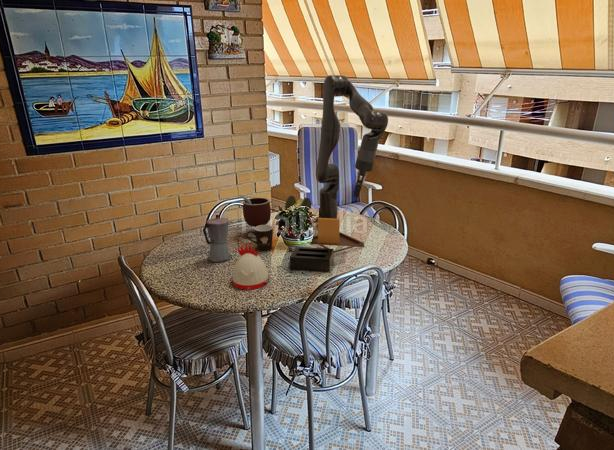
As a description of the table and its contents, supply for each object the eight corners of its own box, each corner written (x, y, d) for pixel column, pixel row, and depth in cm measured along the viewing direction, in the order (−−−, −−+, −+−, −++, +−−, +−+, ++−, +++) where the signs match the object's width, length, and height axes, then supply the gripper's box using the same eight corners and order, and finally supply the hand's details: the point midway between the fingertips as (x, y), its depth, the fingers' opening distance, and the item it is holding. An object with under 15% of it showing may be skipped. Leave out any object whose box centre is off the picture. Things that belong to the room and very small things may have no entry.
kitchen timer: (238, 272, 165) (235, 238, 160) (271, 273, 164) (269, 238, 159) (228, 288, 152) (225, 252, 147) (264, 290, 151) (262, 252, 146)
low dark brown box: (287, 272, 164) (286, 256, 162) (293, 261, 174) (293, 246, 172) (329, 275, 161) (329, 259, 158) (333, 264, 171) (333, 248, 168)
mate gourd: (275, 229, 213) (273, 192, 206) (267, 239, 200) (264, 199, 193) (247, 227, 216) (244, 191, 209) (237, 237, 203) (234, 198, 197)
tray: (307, 241, 196) (307, 237, 195) (335, 233, 204) (335, 230, 204) (334, 255, 179) (334, 251, 178) (364, 246, 187) (364, 242, 187)
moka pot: (238, 254, 183) (234, 211, 177) (217, 267, 170) (213, 222, 163) (220, 251, 187) (216, 209, 180) (199, 264, 174) (194, 219, 167)
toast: (317, 242, 192) (317, 218, 188) (318, 241, 193) (318, 217, 189) (339, 243, 190) (339, 219, 186) (339, 242, 191) (339, 218, 187)
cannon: (291, 227, 215) (290, 206, 211) (272, 224, 220) (271, 204, 217) (313, 214, 236) (312, 195, 232) (295, 211, 241) (294, 192, 237)
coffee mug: (277, 245, 191) (276, 225, 188) (269, 252, 184) (268, 232, 180) (254, 243, 195) (253, 223, 192) (246, 250, 187) (244, 229, 184)
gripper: (358, 152, 180) (350, 186, 188) (355, 161, 168) (346, 196, 175) (375, 156, 180) (366, 190, 187) (373, 165, 167) (363, 201, 174)
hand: (357, 193), depth 181 cm, fingers open, 8 cm apart
